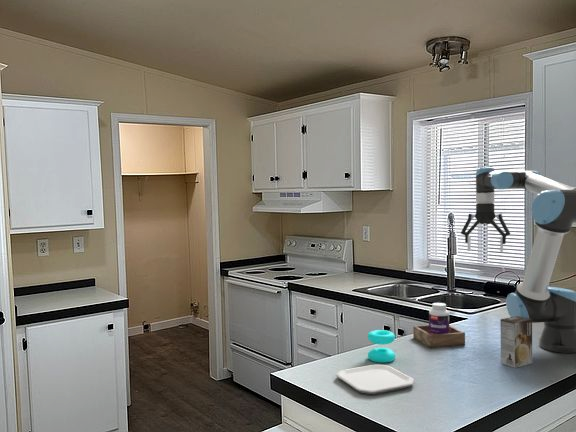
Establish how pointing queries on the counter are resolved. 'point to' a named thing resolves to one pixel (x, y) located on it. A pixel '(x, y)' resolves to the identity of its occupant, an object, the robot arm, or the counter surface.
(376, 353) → the donuts
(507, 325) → the coffee box
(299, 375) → the counter surface
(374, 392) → the plate
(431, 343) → the crate
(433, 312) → the pill bottle
